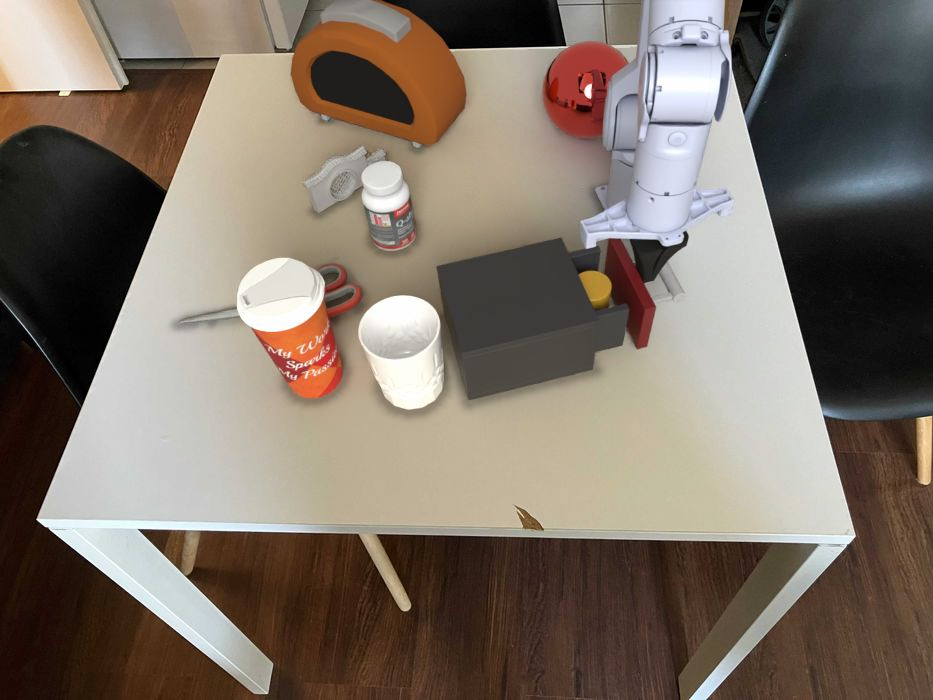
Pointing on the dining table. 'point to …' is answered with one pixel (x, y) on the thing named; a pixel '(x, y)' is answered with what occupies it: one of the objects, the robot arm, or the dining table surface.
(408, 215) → the pill bottle
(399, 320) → the white cup
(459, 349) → the dark drawer box
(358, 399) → the dining table surface
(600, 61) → the ball
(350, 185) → the lattice window wall
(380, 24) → the alarm clock
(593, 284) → the yellow cylinder
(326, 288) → the scissors
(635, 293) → the drawer
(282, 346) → the coffee cup
